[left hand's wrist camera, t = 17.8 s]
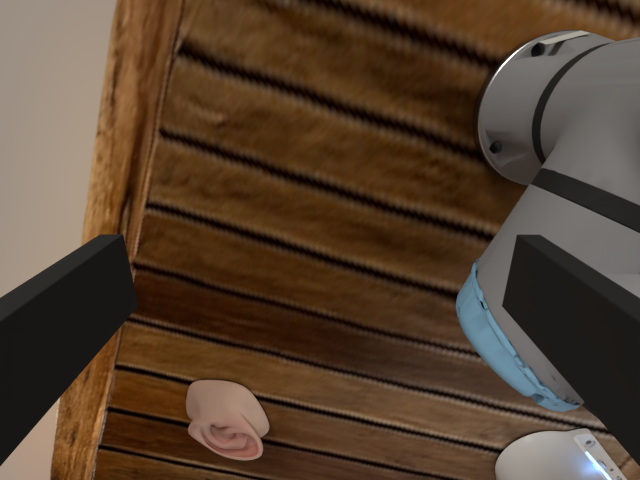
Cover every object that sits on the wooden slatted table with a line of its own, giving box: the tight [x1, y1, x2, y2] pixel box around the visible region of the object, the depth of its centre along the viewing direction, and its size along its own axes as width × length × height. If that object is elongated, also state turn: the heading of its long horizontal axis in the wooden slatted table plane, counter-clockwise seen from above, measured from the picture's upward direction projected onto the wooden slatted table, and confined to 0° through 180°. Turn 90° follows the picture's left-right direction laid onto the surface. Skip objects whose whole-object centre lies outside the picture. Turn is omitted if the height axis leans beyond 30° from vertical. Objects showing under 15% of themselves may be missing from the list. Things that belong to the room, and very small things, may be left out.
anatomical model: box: [186, 380, 269, 460], centre depth 53 cm, size 13×4×12 cm
